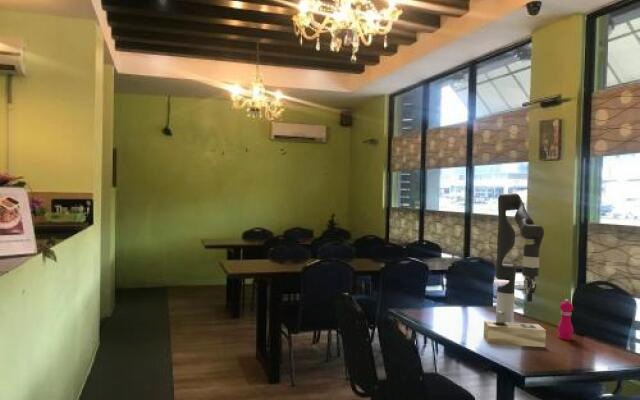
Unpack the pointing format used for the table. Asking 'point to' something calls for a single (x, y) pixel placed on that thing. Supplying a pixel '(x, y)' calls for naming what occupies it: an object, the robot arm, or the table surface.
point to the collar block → (514, 334)
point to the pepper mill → (565, 321)
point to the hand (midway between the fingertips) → (529, 301)
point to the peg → (500, 318)
